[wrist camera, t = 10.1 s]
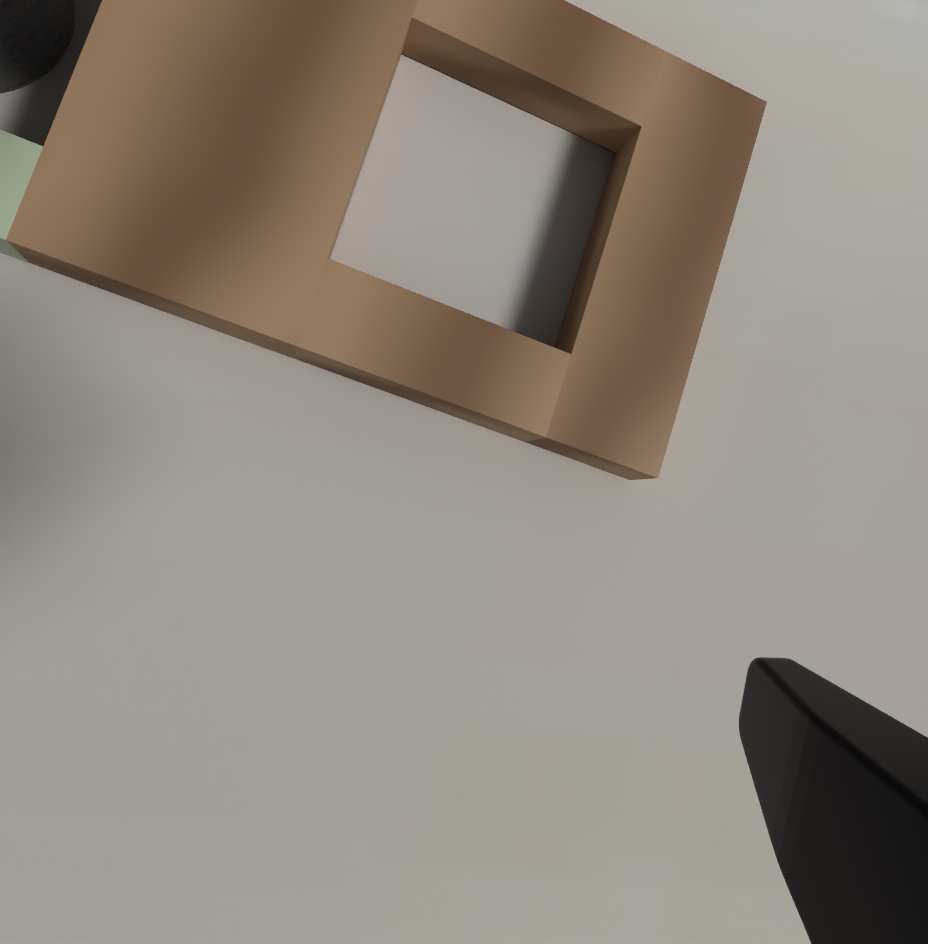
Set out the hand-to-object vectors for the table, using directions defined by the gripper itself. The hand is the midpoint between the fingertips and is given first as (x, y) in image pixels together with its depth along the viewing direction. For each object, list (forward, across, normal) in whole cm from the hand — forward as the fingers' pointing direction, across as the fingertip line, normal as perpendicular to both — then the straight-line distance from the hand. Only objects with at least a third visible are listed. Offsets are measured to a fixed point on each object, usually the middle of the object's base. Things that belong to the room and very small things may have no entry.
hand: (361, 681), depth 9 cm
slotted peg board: (+14, +5, -7) cm, 16 cm away
